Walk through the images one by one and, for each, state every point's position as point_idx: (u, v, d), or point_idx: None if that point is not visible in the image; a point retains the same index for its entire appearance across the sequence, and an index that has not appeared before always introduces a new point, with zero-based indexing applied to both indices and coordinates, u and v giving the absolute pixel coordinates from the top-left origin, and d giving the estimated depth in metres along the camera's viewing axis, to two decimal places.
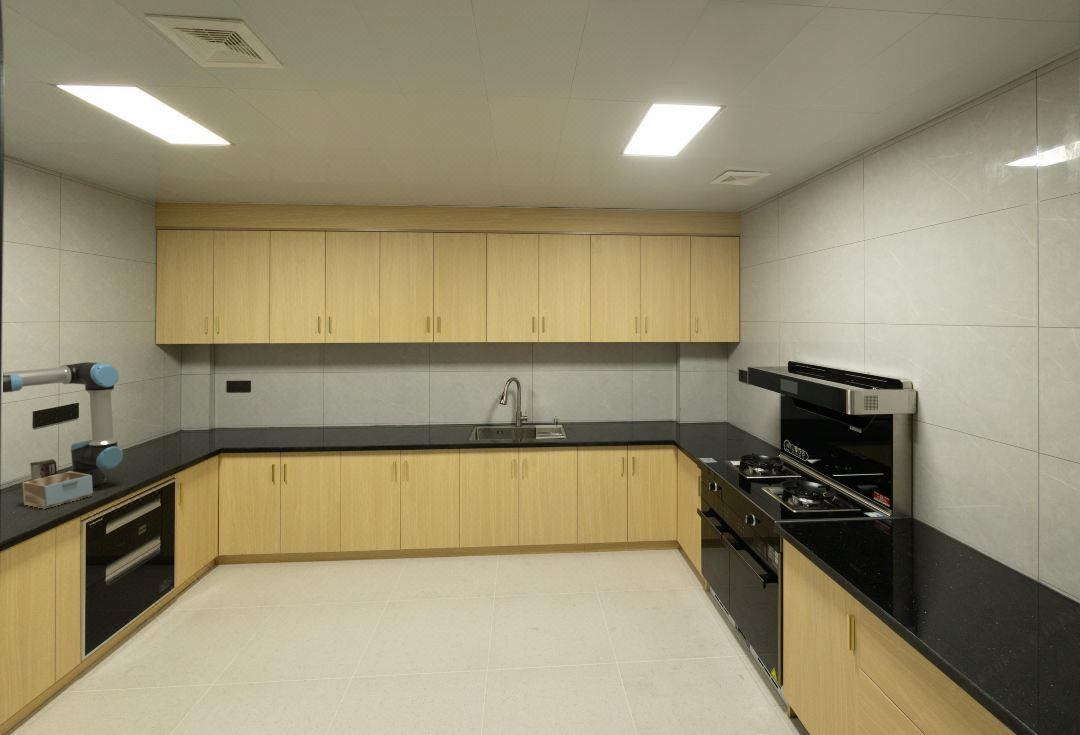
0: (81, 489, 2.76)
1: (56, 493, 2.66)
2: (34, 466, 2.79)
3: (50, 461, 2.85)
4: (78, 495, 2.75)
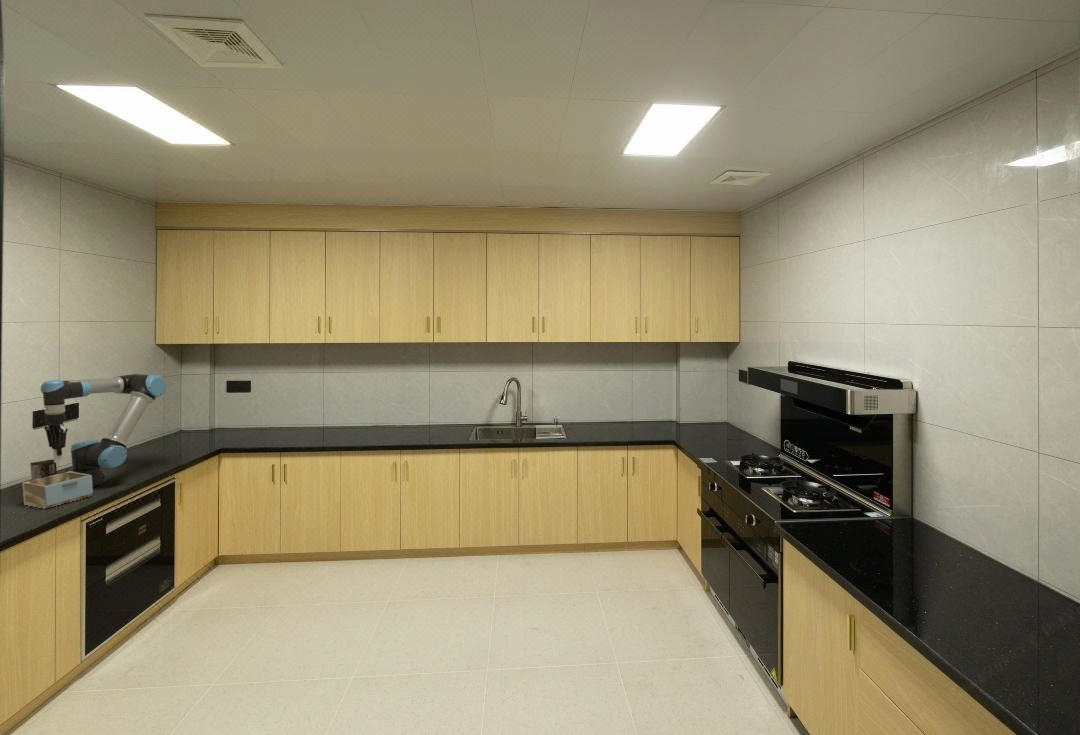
0: (81, 489, 2.76)
1: (56, 493, 2.66)
2: (34, 466, 2.79)
3: (50, 461, 2.85)
4: (78, 495, 2.75)
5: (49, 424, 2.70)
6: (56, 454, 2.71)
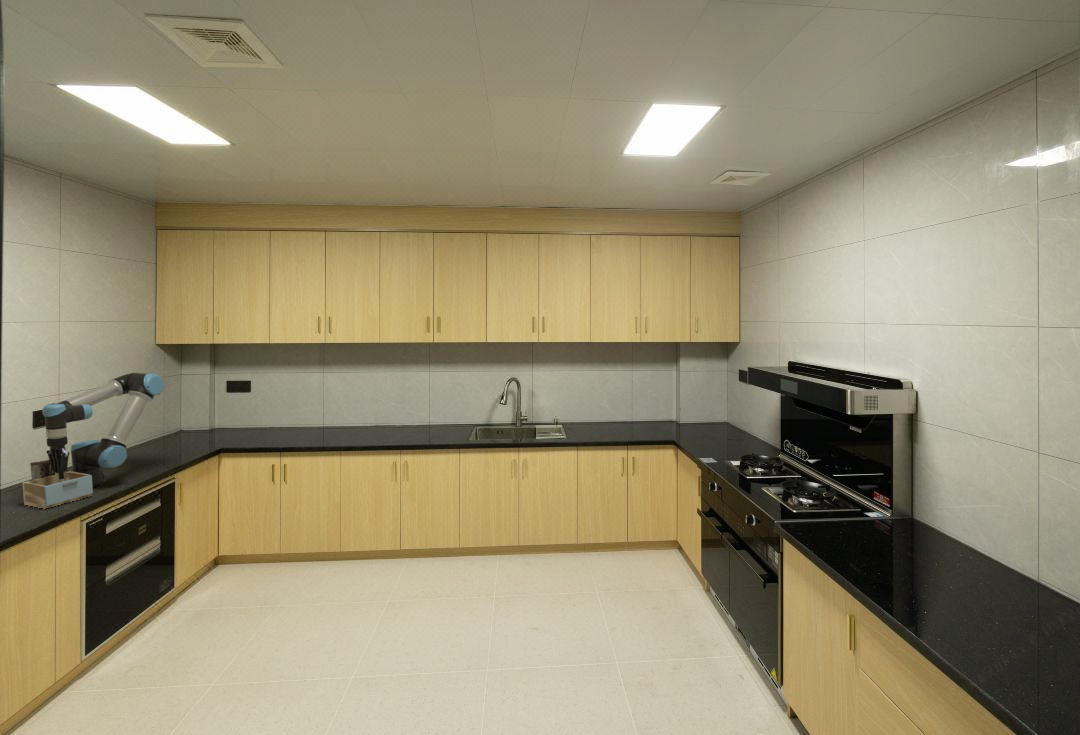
0: (81, 489, 2.76)
1: (56, 493, 2.66)
2: (34, 466, 2.79)
3: None
4: (78, 495, 2.75)
5: (51, 448, 2.72)
6: (58, 478, 2.72)
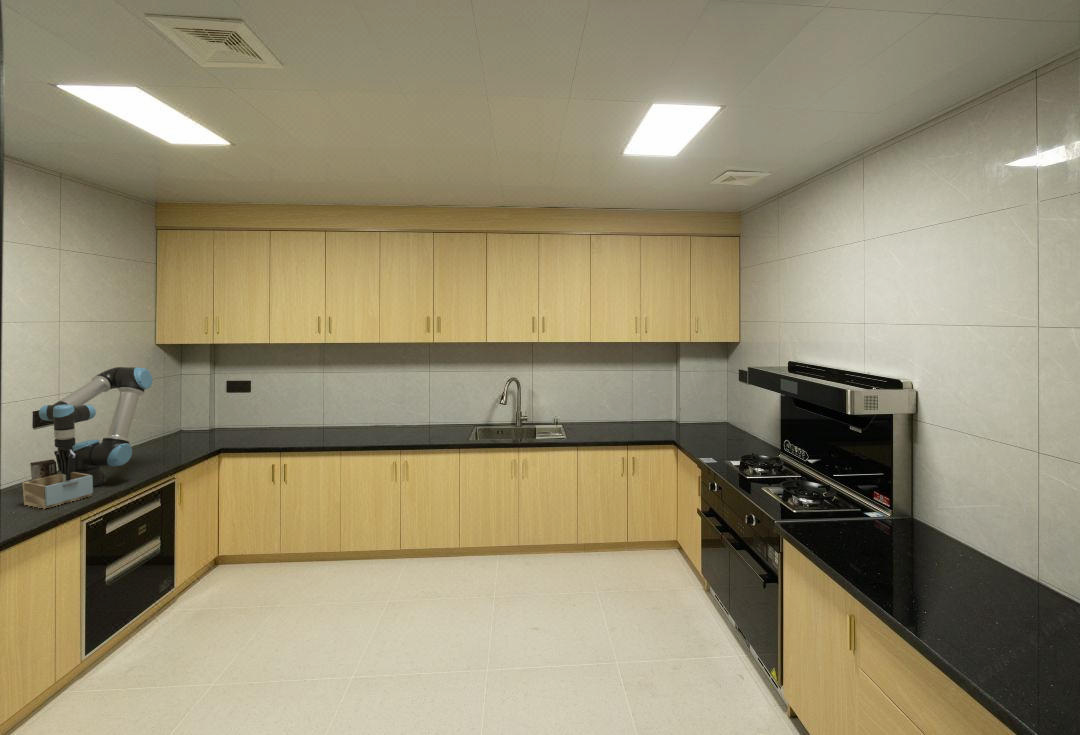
0: (81, 489, 2.76)
1: (56, 493, 2.66)
2: (34, 466, 2.79)
3: (50, 461, 2.85)
4: (78, 495, 2.75)
5: (59, 449, 2.69)
6: (65, 479, 2.70)
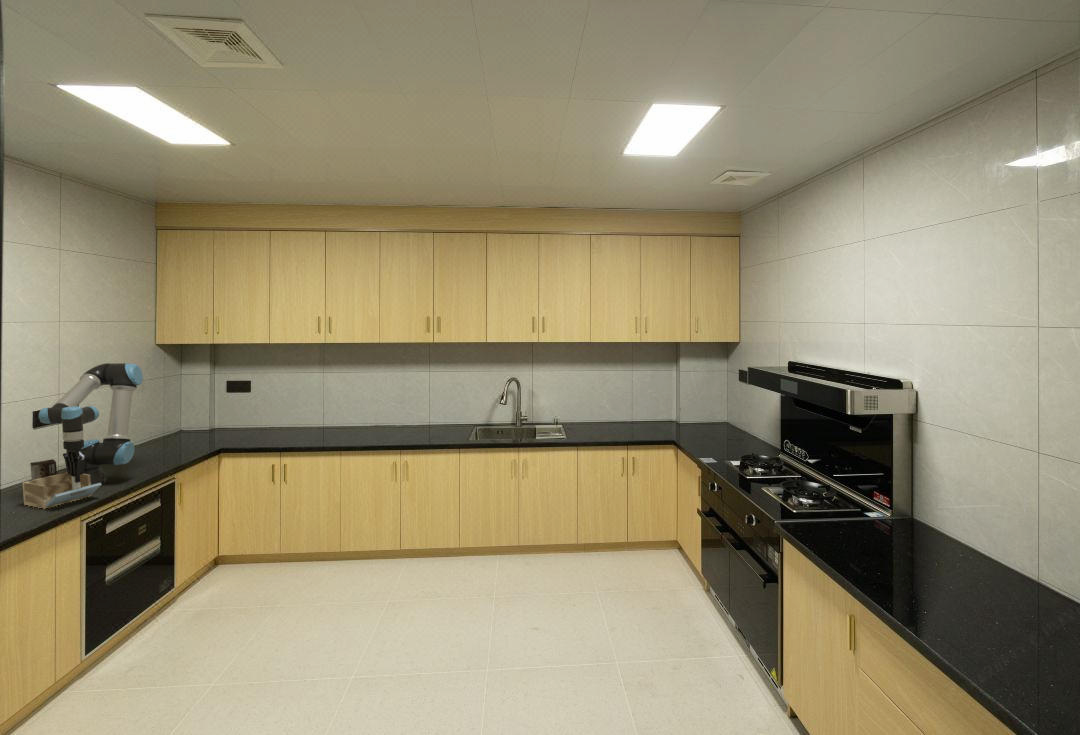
0: (85, 493, 2.76)
1: (61, 499, 2.65)
2: (34, 466, 2.79)
3: (50, 461, 2.85)
4: (79, 497, 2.75)
5: (67, 451, 2.68)
6: (74, 481, 2.68)
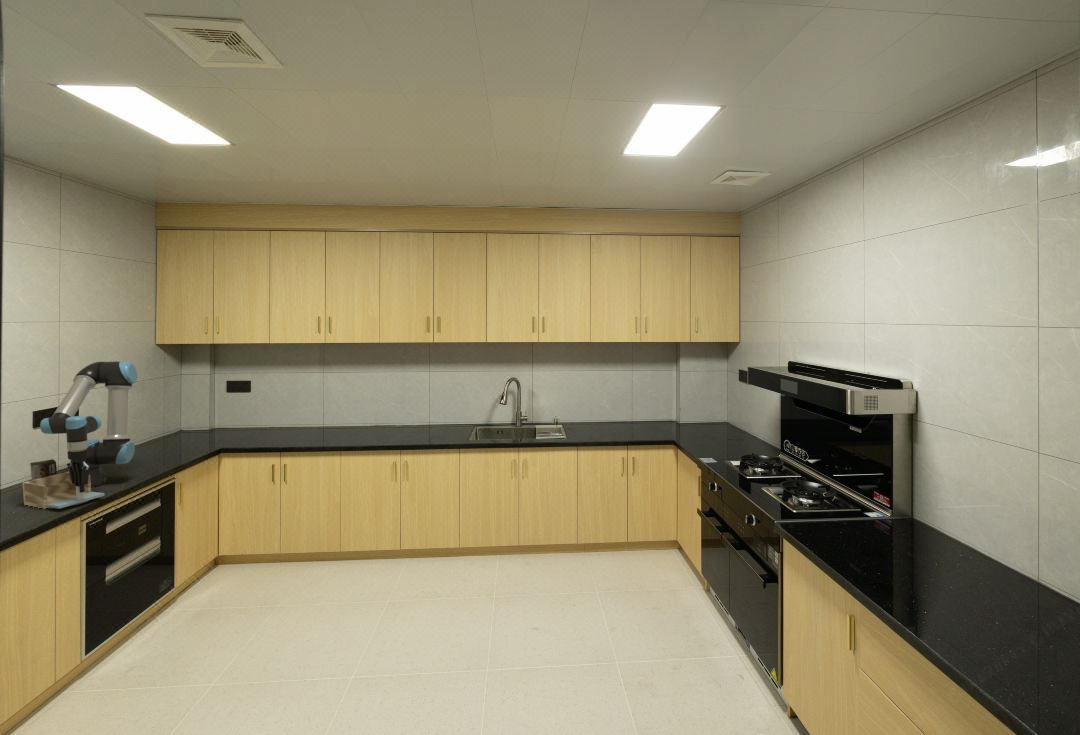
0: None
1: None
2: (34, 466, 2.79)
3: (50, 461, 2.85)
4: None
5: (72, 461, 2.67)
6: (79, 491, 2.68)
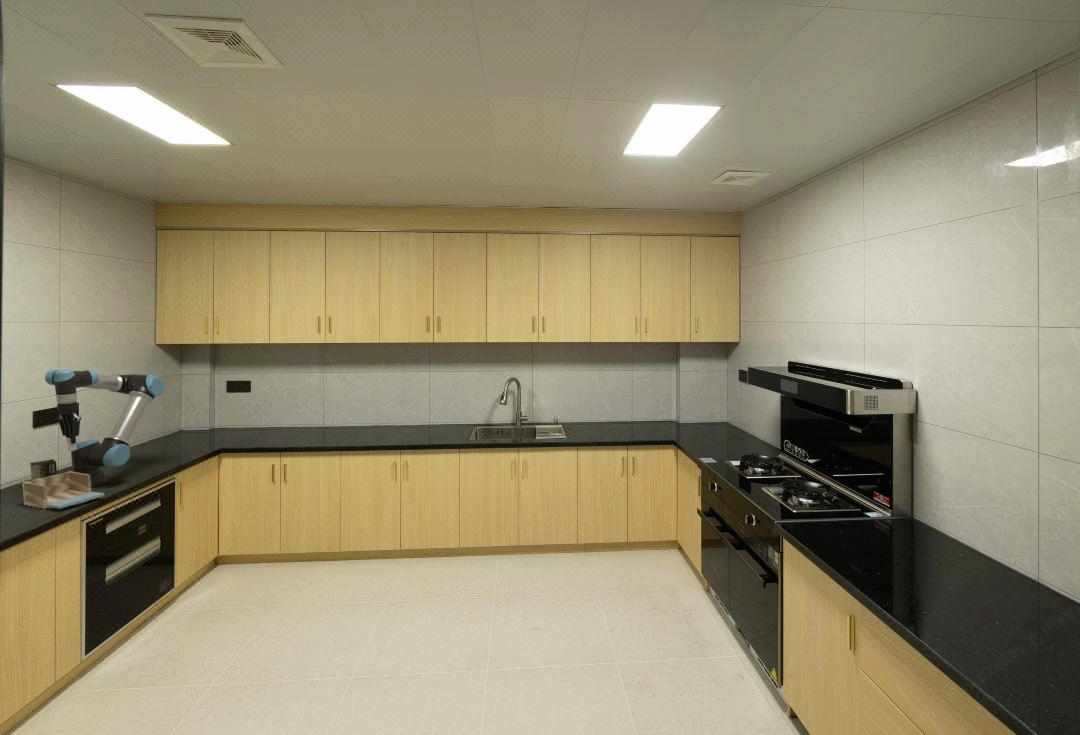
0: None
1: None
2: (34, 466, 2.79)
3: (50, 461, 2.85)
4: None
5: (61, 413, 2.73)
6: (70, 442, 2.74)
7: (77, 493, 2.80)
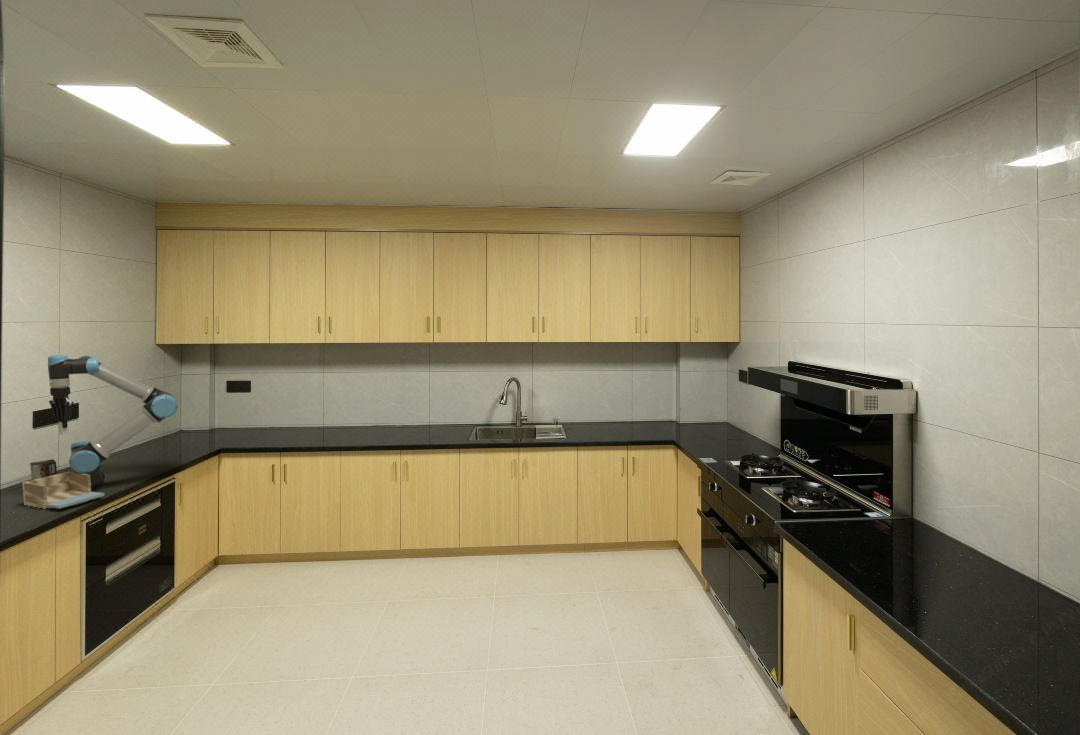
0: None
1: None
2: (34, 466, 2.79)
3: (50, 461, 2.85)
4: None
5: (54, 398, 2.79)
6: (62, 426, 2.80)
7: (77, 493, 2.80)
